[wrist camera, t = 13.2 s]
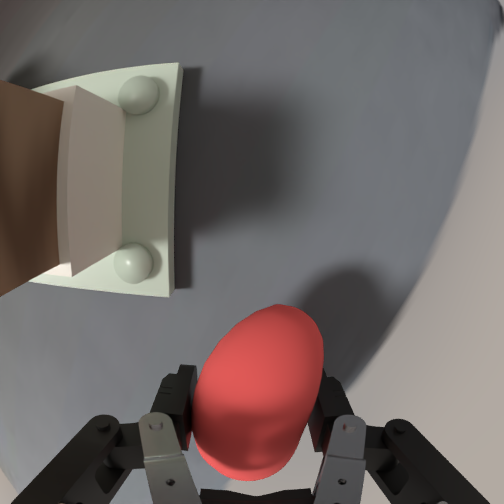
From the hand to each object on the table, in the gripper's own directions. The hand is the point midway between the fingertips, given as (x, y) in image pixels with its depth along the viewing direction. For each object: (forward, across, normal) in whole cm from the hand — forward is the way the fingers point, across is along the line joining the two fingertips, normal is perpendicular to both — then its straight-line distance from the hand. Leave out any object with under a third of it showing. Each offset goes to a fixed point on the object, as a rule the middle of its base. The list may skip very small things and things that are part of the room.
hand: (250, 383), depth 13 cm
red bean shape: (+1, 0, 0) cm, 1 cm away
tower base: (+4, +10, -9) cm, 14 cm away
